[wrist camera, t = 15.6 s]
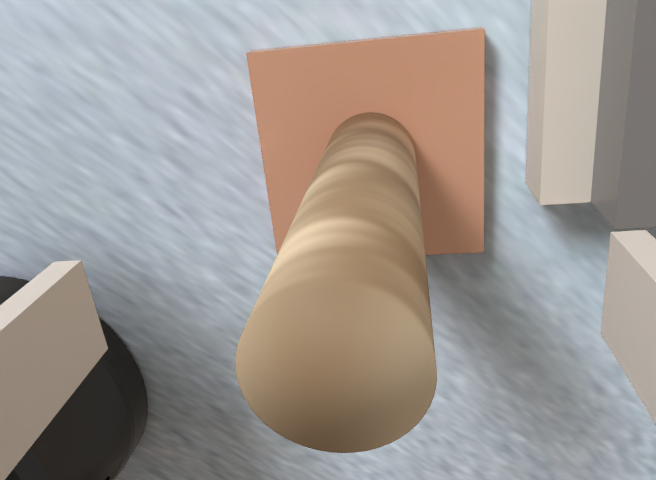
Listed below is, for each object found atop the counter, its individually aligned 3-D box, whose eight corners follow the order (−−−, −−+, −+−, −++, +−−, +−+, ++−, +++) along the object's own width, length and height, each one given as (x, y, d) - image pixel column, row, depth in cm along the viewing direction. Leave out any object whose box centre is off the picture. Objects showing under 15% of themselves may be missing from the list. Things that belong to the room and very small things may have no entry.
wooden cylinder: (331, 200, 27) (251, 452, 12) (322, 116, 25) (219, 290, 11) (417, 195, 26) (439, 453, 12) (413, 108, 25) (434, 281, 10)
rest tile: (282, 252, 29) (278, 261, 29) (251, 50, 26) (246, 53, 25) (481, 243, 28) (483, 252, 27) (481, 27, 24) (484, 29, 23)
